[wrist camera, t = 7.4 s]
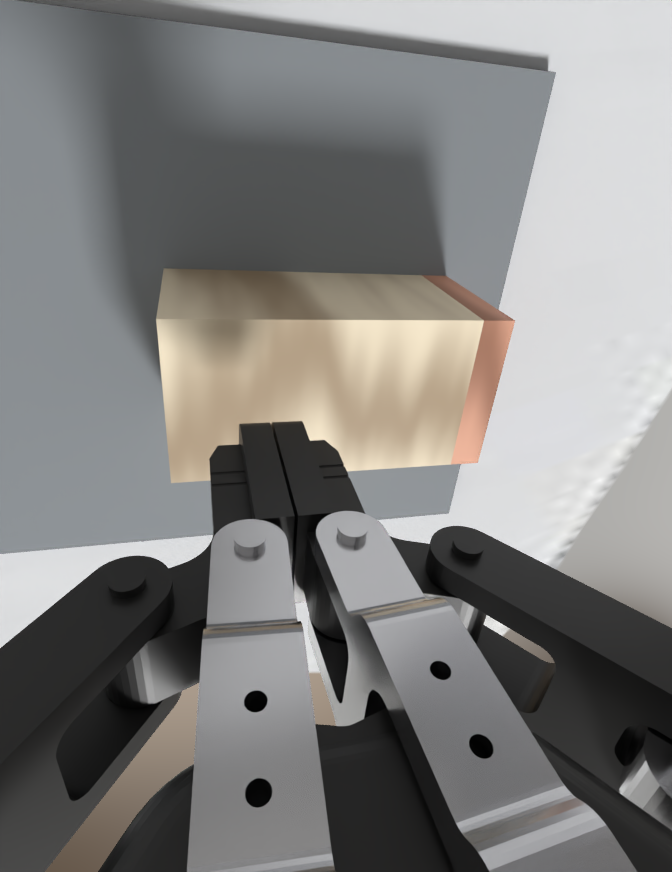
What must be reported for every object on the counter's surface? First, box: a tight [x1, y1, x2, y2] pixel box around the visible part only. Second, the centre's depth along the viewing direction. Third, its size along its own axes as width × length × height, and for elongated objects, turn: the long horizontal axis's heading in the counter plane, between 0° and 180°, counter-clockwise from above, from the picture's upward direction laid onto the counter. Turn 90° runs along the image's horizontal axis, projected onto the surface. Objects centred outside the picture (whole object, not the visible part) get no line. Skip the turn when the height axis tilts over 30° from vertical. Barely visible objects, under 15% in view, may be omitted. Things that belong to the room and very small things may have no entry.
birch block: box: [156, 268, 515, 483], centre depth 18 cm, size 5×5×10 cm
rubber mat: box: [0, 0, 556, 554], centre depth 19 cm, size 18×22×1 cm
